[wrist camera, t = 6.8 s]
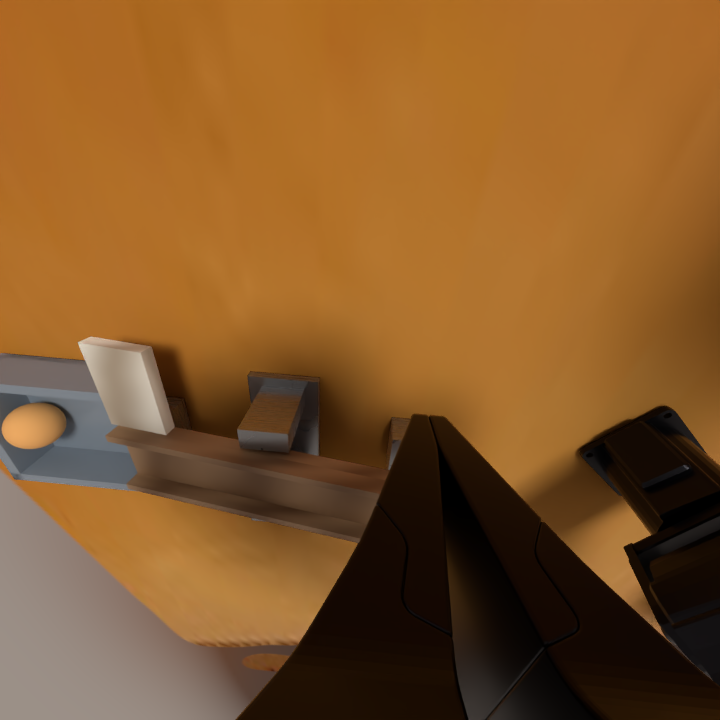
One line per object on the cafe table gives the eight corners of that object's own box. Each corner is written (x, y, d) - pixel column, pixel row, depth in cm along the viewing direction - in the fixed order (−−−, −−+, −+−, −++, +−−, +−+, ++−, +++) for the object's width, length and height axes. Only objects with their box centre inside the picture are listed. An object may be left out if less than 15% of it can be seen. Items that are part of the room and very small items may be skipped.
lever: (445, 382, 17) (449, 439, 13) (414, 515, 22) (410, 580, 19) (107, 329, 20) (32, 362, 16) (153, 458, 25) (105, 505, 22)
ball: (-23, 438, 22) (19, 408, 25) (27, 465, 24) (62, 433, 27) (2, 415, 21) (43, 386, 24) (52, 444, 23) (86, 413, 26)
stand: (424, 386, 23) (435, 438, 18) (405, 482, 28) (410, 541, 23) (147, 362, 23) (91, 407, 19) (177, 460, 28) (138, 514, 24)
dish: (140, 365, 23) (104, 393, 20) (170, 457, 28) (144, 491, 25) (1, 353, 24) (-55, 379, 21) (54, 446, 28) (14, 479, 25)
